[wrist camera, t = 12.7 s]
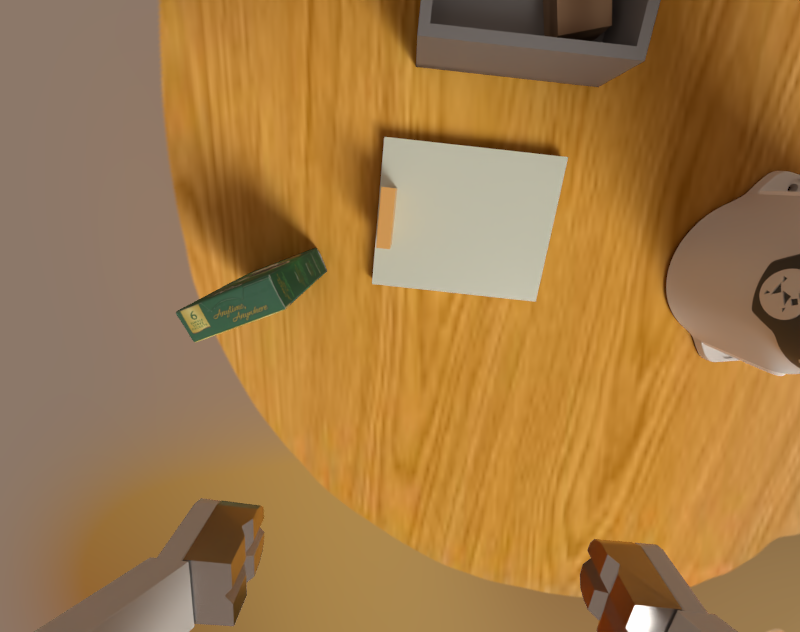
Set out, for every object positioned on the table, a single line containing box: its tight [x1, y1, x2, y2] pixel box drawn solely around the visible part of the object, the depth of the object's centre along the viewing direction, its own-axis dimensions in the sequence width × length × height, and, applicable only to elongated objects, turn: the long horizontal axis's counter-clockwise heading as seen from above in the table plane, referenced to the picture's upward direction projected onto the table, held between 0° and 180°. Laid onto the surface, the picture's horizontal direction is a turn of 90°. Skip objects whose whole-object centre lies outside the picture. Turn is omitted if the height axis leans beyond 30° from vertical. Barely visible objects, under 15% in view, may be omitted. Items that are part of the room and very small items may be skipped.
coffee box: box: [176, 248, 327, 342], centre depth 33 cm, size 8×3×13 cm, turn 110°
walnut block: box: [543, 0, 612, 41], centre depth 30 cm, size 4×4×3 cm
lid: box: [372, 137, 568, 302], centre depth 35 cm, size 16×13×6 cm
